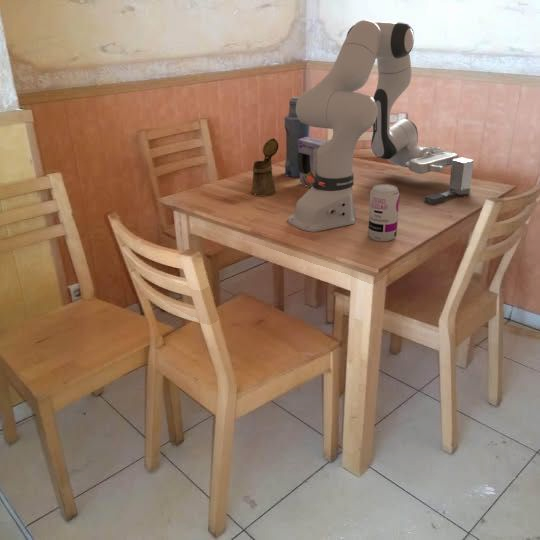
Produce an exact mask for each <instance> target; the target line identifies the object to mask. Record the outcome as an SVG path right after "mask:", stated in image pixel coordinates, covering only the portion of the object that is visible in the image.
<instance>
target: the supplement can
mask: <svg viewBox="0 0 540 540" xmlns="http://www.w3.org/2000/svg"><path fill="white" fill-rule="evenodd" d="M399 205H400V192H399V189H398V186H396V185H392V184H387V183H386V184H385V183H381V184H376V185H373V186H372V189H371V190H370V192H369V207H368V208H369V209H368V229H367V236H368V237H369V238H370V239H371V240H374V241H376V242H389V241H390V240H391V241H393V240H394V239H395V238H396V237H397V235H398V223H399V222H398V219H399V207H400V206H399Z"/></svg>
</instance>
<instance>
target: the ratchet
mask: <svg viewBox="0 0 540 540" xmlns="http://www.w3.org/2000/svg"><path fill="white" fill-rule="evenodd" d="M470 193H471V188H470V189H467V190H464V191H457V190H454V189H451V188H449V187H448V190H446V191H444V192H441V193H440V192H439V193H438V192H436V193H431V194H429V195H426V196H424V203H427V204H430V205H432V206H433V205H437V204H439V203H443V202H445V201H447V200H451V199H454V198H456V196H457V198H465V197H464V196H466V197H469V196H470V195H471V194H470ZM469 194H470V195H469ZM468 195H469V196H468Z"/></svg>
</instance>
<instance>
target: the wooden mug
mask: <svg viewBox="0 0 540 540" xmlns="http://www.w3.org/2000/svg"><path fill="white" fill-rule="evenodd" d="M278 150H279V143H278V140H277V139H275V138H274V137H273V138H271V139H268V141H266V142H265V143H264V145H263V147H262V153H263V155H264V159H263V160H257V161H254V162H253V166H252V172H253V176H252V187H251V192H252V193H253V194H256V195H255V196H257V195H269V196H271V195H270V194H272V195H274V194H276V192H277V191H276V186H275V182H274V176H273V166H272V157H273V156H275V155H276V154H277V152H278ZM275 191H276V192H275ZM252 193H251V194H252ZM273 193H274V194H273ZM253 194H252V195H253Z"/></svg>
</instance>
